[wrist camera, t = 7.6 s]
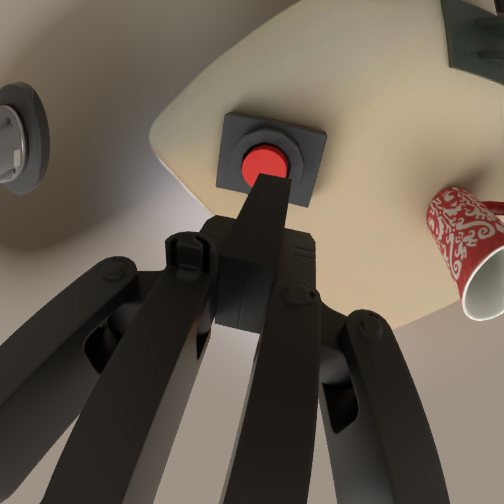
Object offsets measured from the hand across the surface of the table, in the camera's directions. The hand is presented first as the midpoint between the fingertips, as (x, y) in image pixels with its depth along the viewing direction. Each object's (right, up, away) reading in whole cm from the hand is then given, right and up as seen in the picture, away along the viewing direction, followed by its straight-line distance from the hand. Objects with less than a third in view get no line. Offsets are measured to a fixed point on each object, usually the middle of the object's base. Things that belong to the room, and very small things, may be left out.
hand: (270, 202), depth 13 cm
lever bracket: (+25, +20, +1) cm, 32 cm away
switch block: (+1, +8, +15) cm, 17 cm away
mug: (+25, +3, +14) cm, 28 cm away
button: (0, +6, +12) cm, 14 cm away
